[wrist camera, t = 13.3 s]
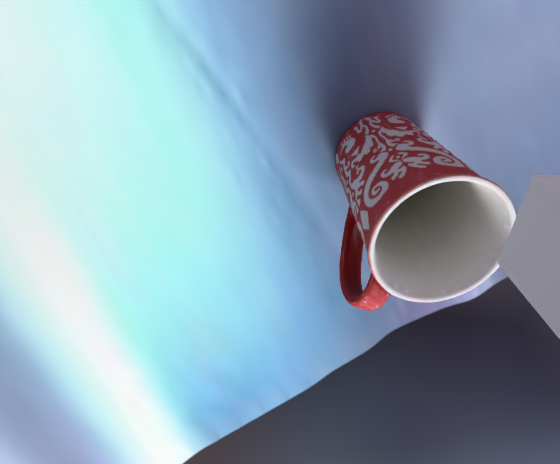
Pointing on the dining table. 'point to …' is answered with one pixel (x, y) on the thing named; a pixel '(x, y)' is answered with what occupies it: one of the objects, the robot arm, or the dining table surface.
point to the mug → (415, 215)
